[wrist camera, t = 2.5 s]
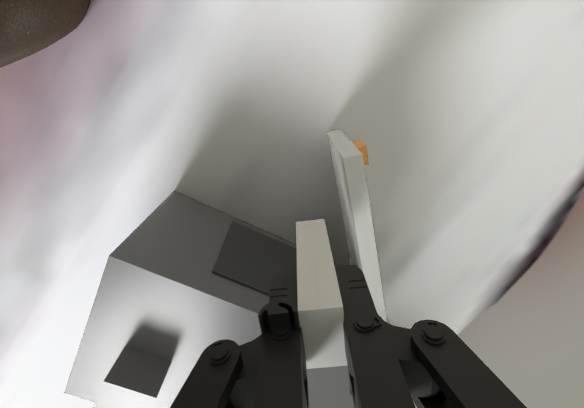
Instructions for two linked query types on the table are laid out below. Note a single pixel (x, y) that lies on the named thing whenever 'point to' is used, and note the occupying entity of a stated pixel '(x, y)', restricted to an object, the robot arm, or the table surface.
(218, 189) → the table surface
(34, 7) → the plant pot
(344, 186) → the side door
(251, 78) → the table surface
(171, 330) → the block
